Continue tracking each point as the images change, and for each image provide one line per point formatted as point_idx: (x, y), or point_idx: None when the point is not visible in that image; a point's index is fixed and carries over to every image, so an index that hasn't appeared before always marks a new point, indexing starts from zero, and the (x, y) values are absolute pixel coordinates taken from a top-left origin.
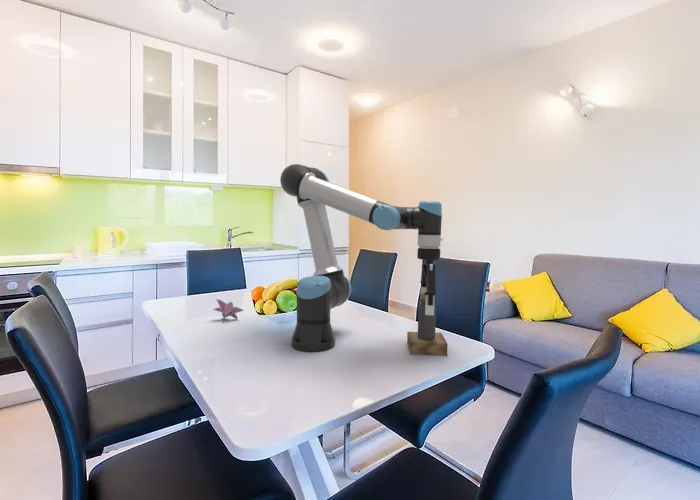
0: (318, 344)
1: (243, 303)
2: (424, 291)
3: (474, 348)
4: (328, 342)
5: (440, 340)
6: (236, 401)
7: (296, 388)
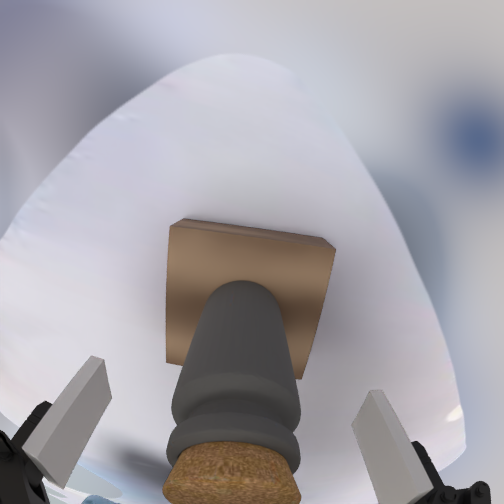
0: None
1: (43, 479)
2: (65, 453)
3: (244, 99)
4: None
5: (291, 266)
6: None
7: None
